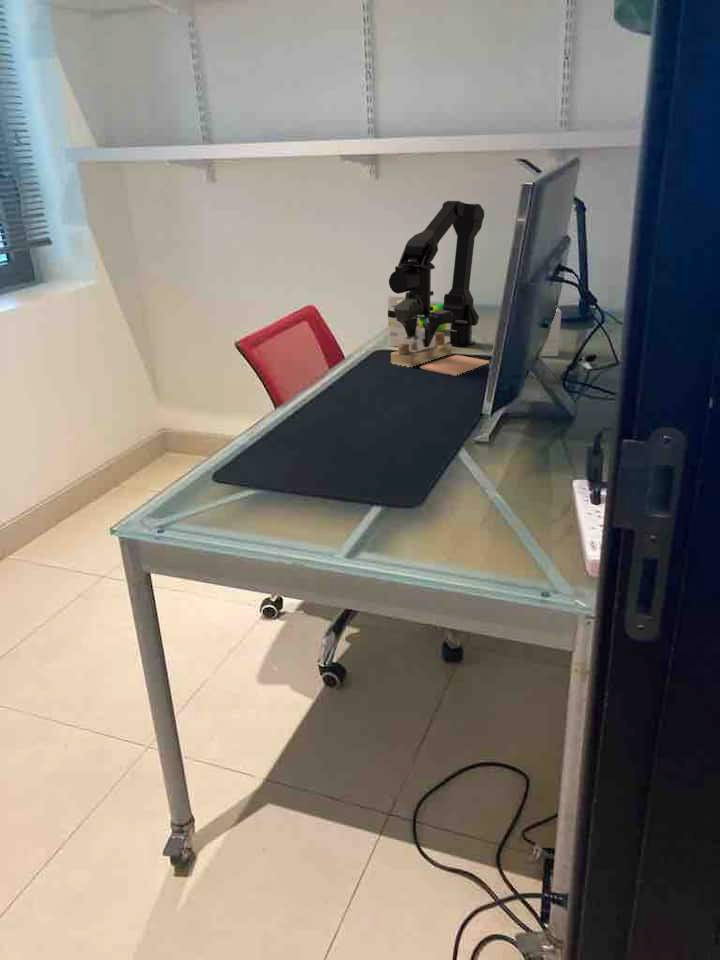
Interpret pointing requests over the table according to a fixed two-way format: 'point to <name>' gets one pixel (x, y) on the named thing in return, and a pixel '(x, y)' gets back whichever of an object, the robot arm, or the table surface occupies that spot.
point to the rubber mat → (455, 365)
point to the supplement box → (553, 336)
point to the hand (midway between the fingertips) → (419, 345)
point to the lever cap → (418, 341)
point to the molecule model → (423, 320)
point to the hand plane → (421, 353)
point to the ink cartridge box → (396, 325)
